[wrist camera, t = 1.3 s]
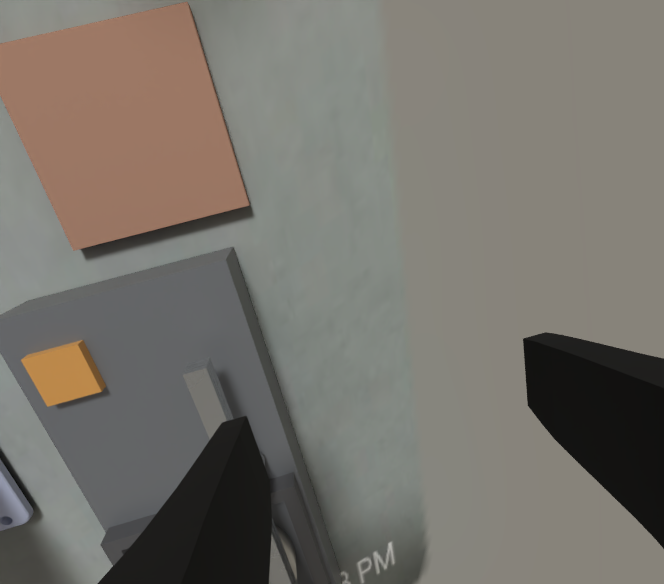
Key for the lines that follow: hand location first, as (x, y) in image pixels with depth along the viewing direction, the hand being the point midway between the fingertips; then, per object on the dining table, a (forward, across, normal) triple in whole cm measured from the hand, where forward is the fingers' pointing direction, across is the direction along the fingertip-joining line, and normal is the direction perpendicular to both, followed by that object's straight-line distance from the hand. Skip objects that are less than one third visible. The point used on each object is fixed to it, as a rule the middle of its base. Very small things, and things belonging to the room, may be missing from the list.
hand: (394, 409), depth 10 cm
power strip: (+8, +8, +6) cm, 13 cm away
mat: (+8, +6, -9) cm, 14 cm away
